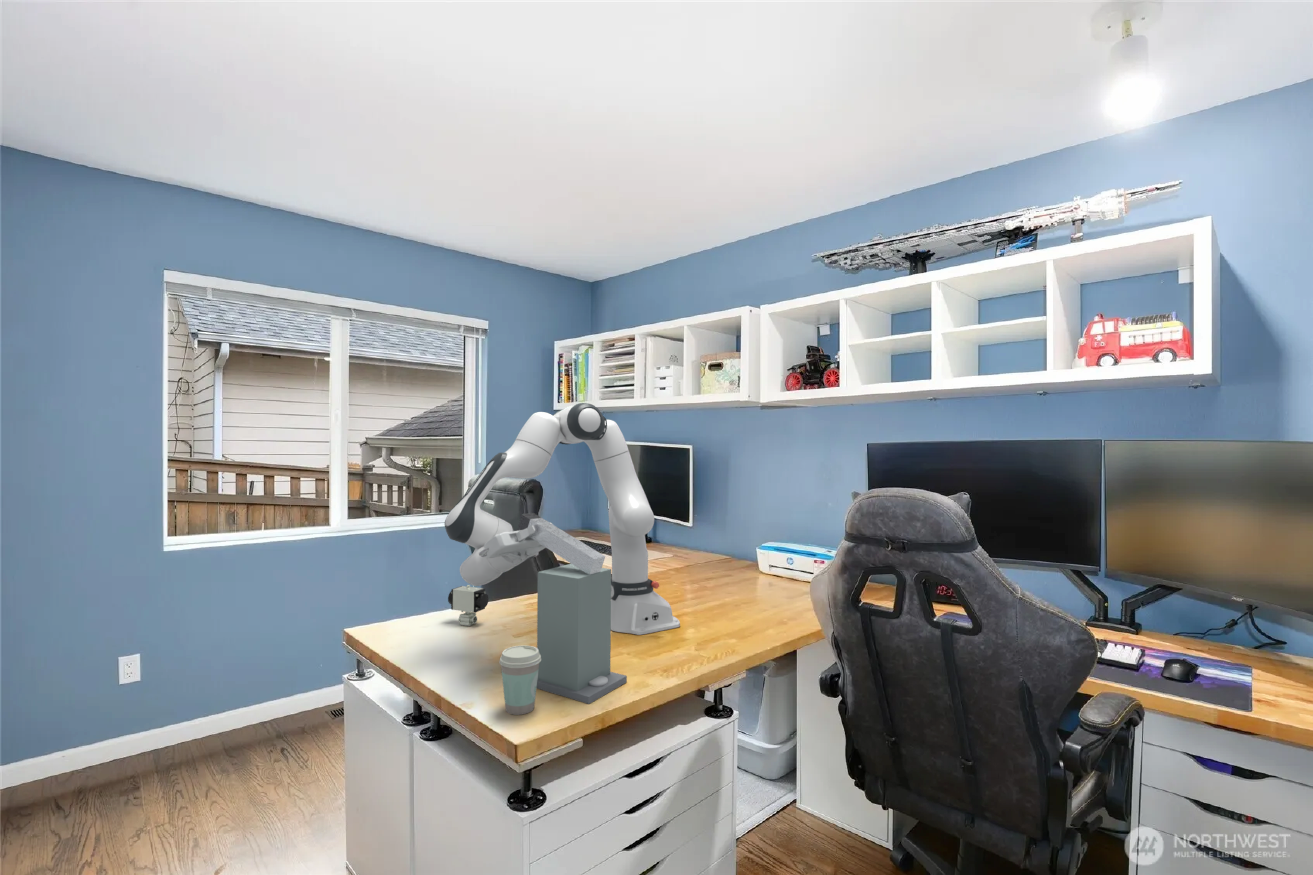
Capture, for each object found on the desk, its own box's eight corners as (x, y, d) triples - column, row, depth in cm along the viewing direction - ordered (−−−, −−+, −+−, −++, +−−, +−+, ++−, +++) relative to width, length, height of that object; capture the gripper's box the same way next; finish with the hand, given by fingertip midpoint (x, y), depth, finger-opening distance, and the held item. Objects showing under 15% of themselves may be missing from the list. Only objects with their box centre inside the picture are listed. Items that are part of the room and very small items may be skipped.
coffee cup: (538, 717, 122) (538, 658, 122) (495, 718, 121) (495, 658, 122) (542, 699, 131) (543, 644, 131) (502, 700, 130) (503, 644, 130)
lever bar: (517, 529, 147) (521, 514, 147) (528, 527, 151) (533, 512, 150) (589, 575, 135) (594, 559, 134) (600, 572, 139) (605, 556, 138)
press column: (533, 687, 137) (534, 572, 137) (573, 668, 149) (574, 562, 149) (588, 703, 128) (589, 581, 129) (626, 682, 140) (627, 570, 141)
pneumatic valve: (479, 628, 180) (479, 588, 180) (447, 624, 184) (447, 585, 184) (490, 623, 185) (490, 584, 185) (459, 619, 189) (459, 581, 189)
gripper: (470, 544, 144) (506, 519, 137) (531, 534, 161) (565, 511, 155) (479, 569, 142) (516, 544, 136) (539, 555, 159) (575, 533, 153)
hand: (543, 526), depth 145 cm, fingers closed on lever bar, 4 cm apart
